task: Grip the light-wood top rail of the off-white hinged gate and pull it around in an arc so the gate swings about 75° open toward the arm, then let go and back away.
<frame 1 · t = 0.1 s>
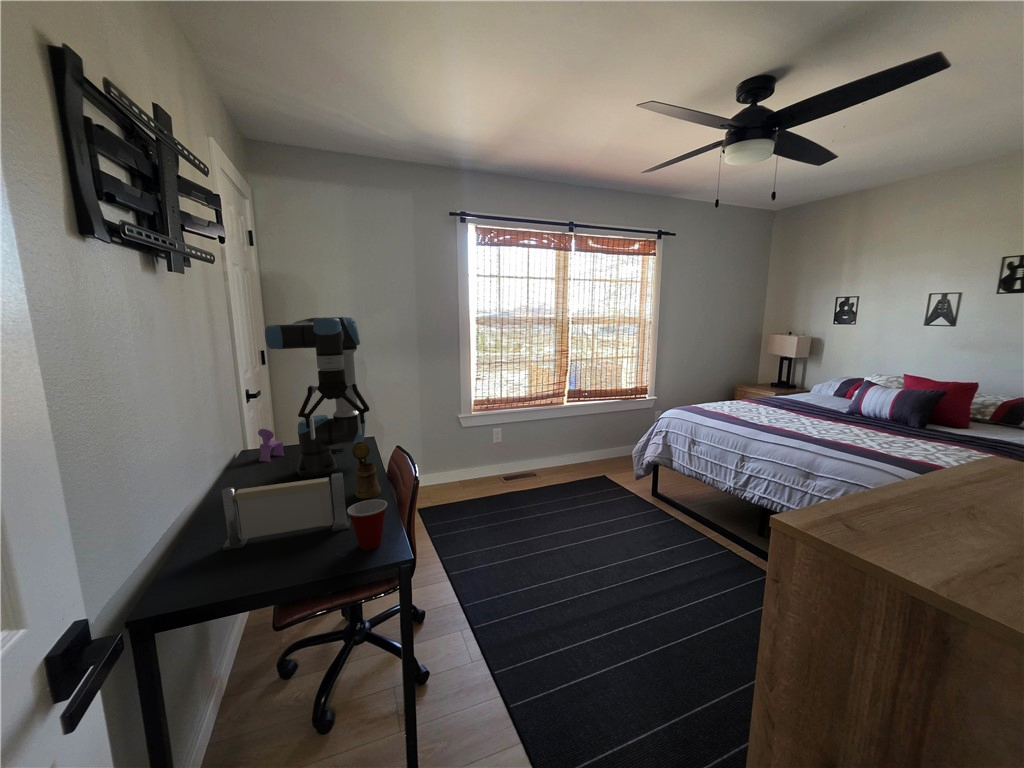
hand: (337, 436, 126), 28 cm above the table, tool pointing down, fingers open, 13 cm apart
gate frame: (235, 544, 117), on the table
brown disc-topped figurine: (366, 492, 151), on the table
plastic cup: (370, 544, 116), on the table
gate: (286, 508, 120), point 9 cm above the table, hinge at 0.0°
media streaming box: (328, 450, 199), on the table
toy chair: (272, 458, 188), on the table
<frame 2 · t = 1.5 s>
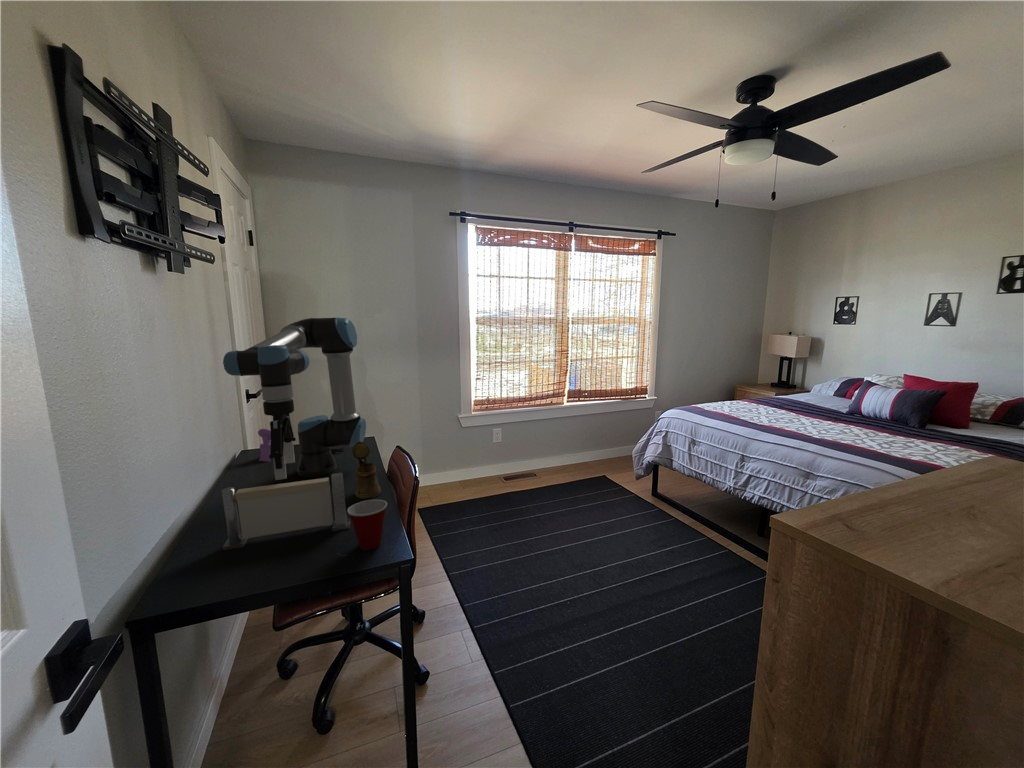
hand: (285, 470, 118), 21 cm above the table, tool pointing down, fingers open, 13 cm apart
nothing on the table moved.
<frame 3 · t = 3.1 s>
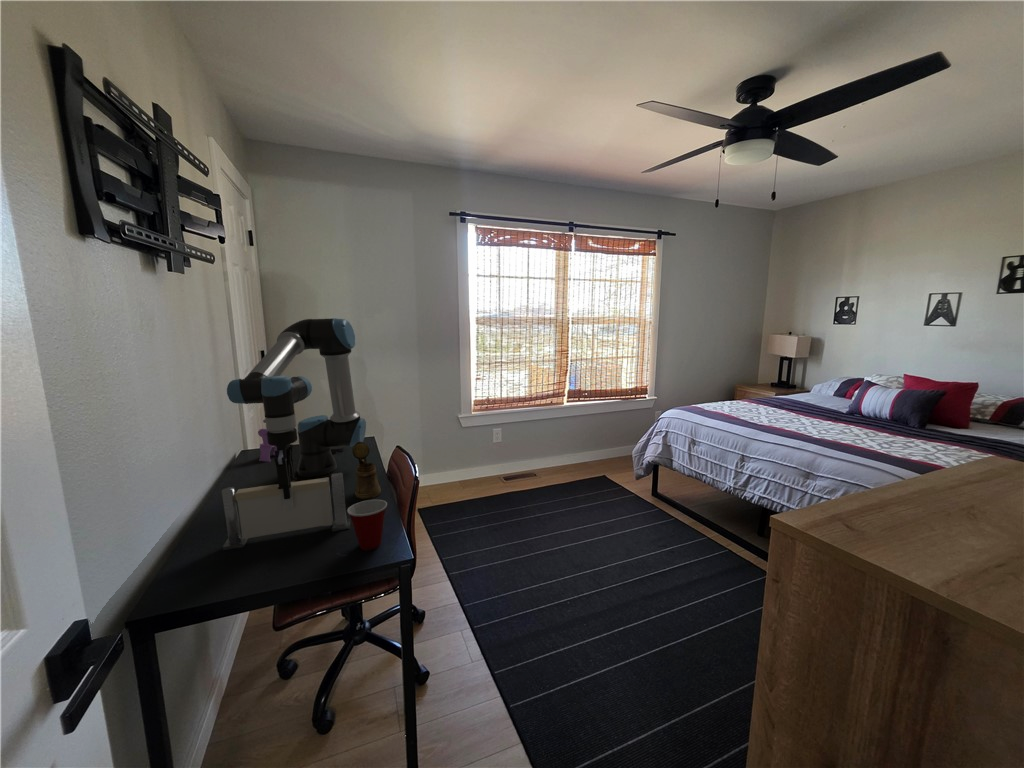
hand: (290, 504, 120), 10 cm above the table, tool pointing down, fingers closed on gate, 3 cm apart
gate: (286, 508, 120), point 9 cm above the table, hinge at 0.0°, touching gripper
everything else where it was.
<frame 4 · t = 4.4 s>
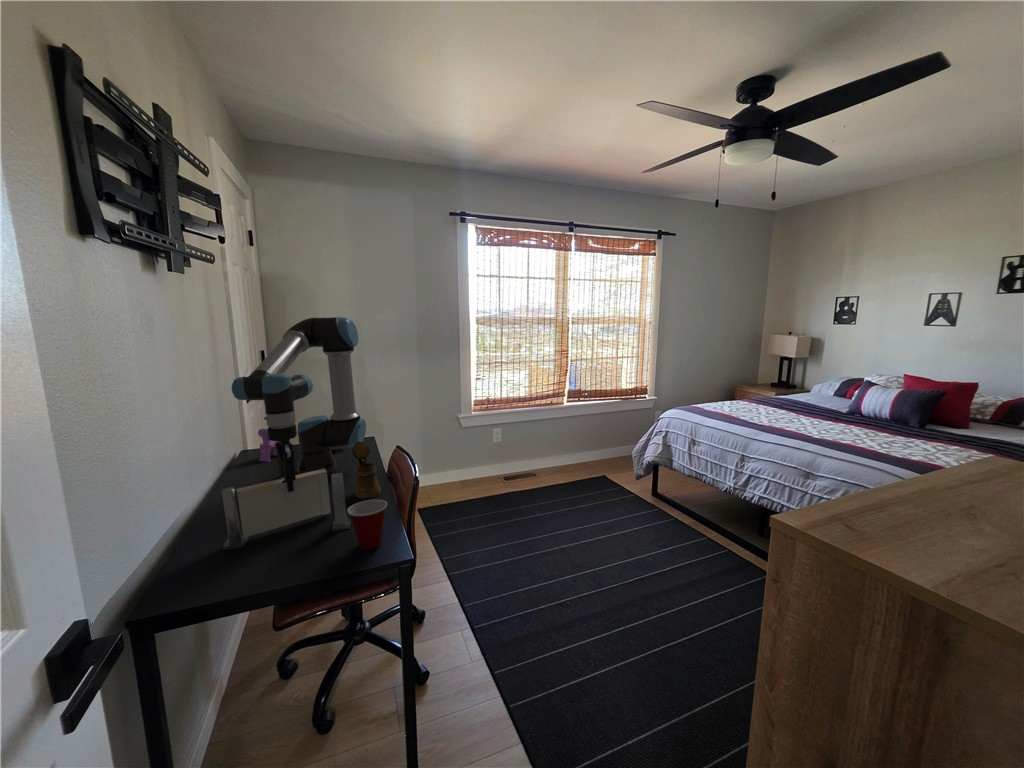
hand: (289, 498, 124), 10 cm above the table, tool pointing down, fingers closed on gate, 3 cm apart
gate: (286, 501, 124), point 9 cm above the table, hinge at 19.5°, touching gripper
everything else where it was.
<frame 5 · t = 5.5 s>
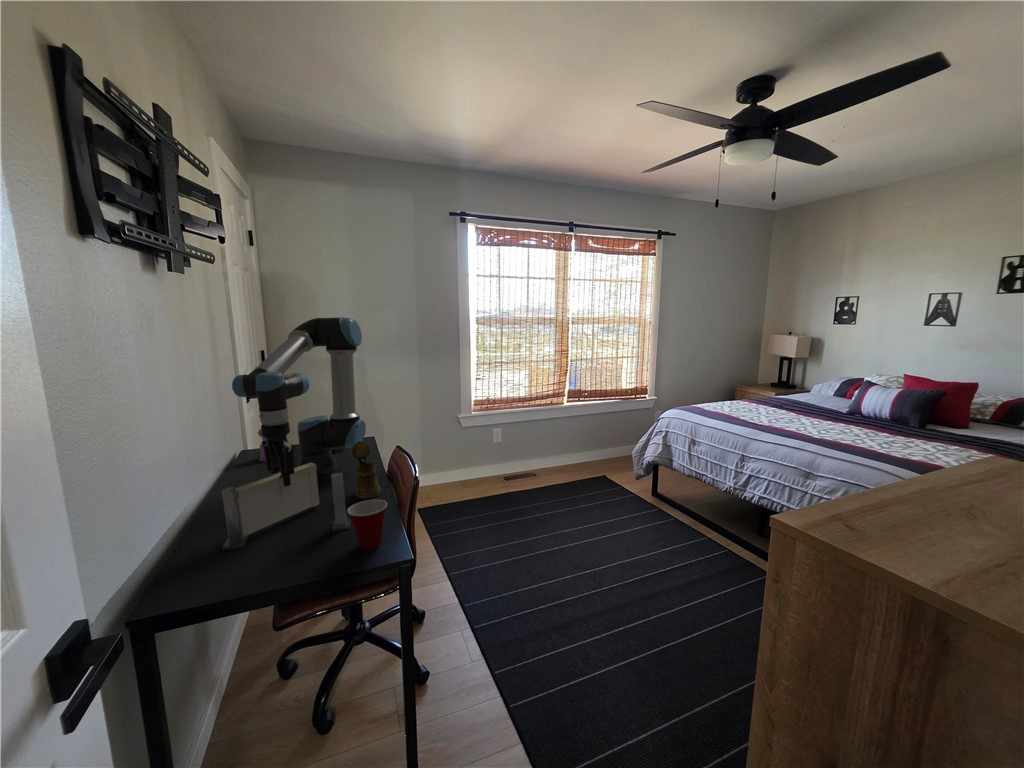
hand: (283, 493, 128), 10 cm above the table, tool pointing down, fingers closed on gate, 3 cm apart
gate: (280, 497, 127), point 9 cm above the table, hinge at 39.9°, touching gripper
everything else where it was.
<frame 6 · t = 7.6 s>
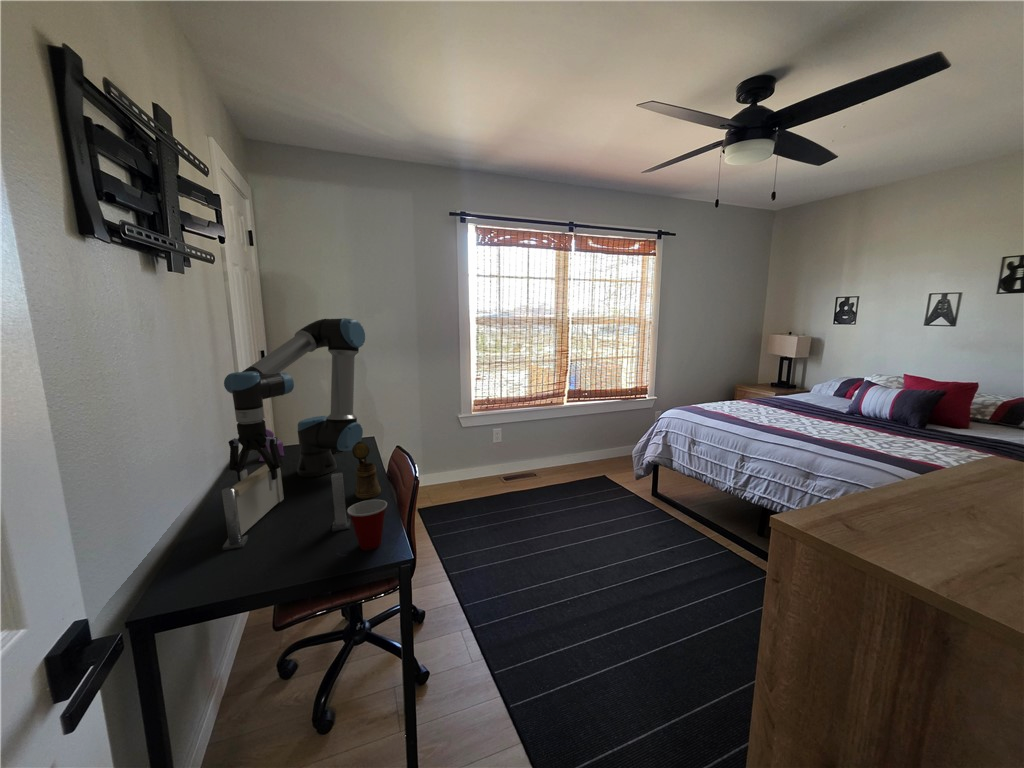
hand: (259, 489, 130), 10 cm above the table, tool pointing down, fingers open, 8 cm apart
gate: (259, 494, 129), point 9 cm above the table, hinge at 74.0°
everything else where it was.
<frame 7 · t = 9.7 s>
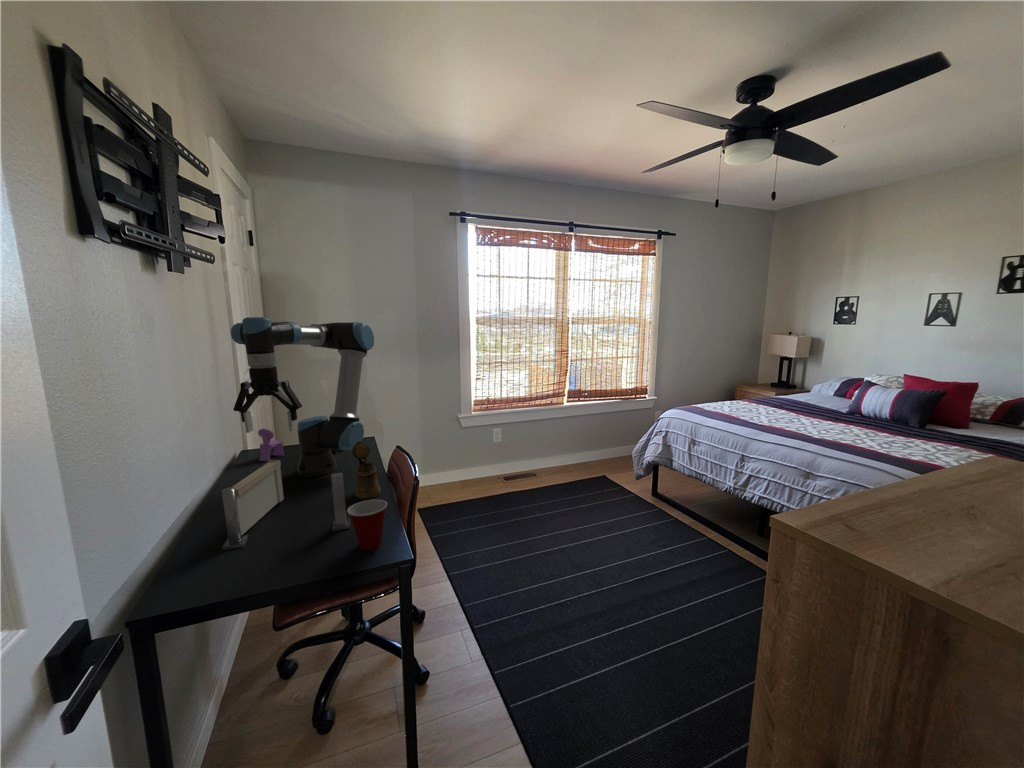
hand: (271, 430, 131), 28 cm above the table, tool pointing down, fingers open, 13 cm apart
nothing on the table moved.
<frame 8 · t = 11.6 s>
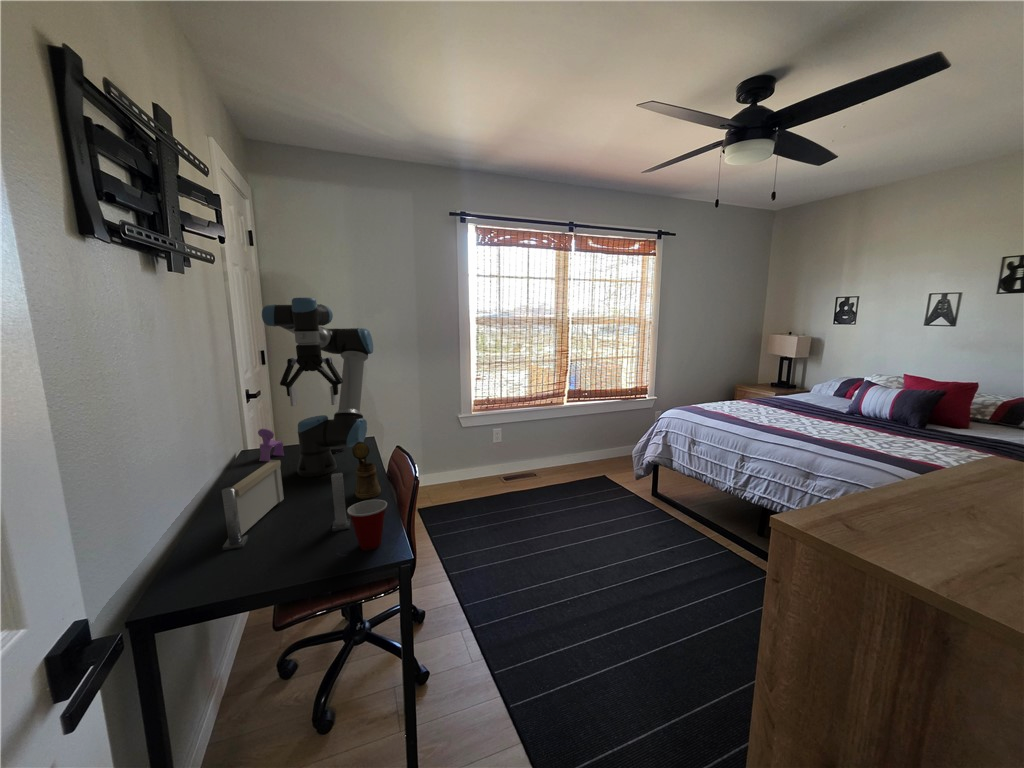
hand: (314, 404, 140), 35 cm above the table, tool pointing down, fingers open, 13 cm apart
nothing on the table moved.
at the end: gate at +74° (first picture: +0°); the gripper is holding nothing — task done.
